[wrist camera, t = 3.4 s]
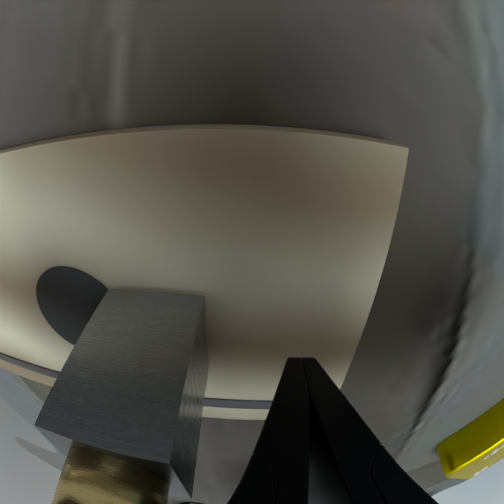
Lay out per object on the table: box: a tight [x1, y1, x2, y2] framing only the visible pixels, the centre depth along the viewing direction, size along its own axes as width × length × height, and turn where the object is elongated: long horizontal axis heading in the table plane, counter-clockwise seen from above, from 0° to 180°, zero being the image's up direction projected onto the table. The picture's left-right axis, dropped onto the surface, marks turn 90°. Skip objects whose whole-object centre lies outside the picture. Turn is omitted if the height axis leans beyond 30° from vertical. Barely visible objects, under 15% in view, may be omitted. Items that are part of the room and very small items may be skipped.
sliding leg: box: [35, 289, 209, 504], centre depth 6 cm, size 3×3×7 cm
